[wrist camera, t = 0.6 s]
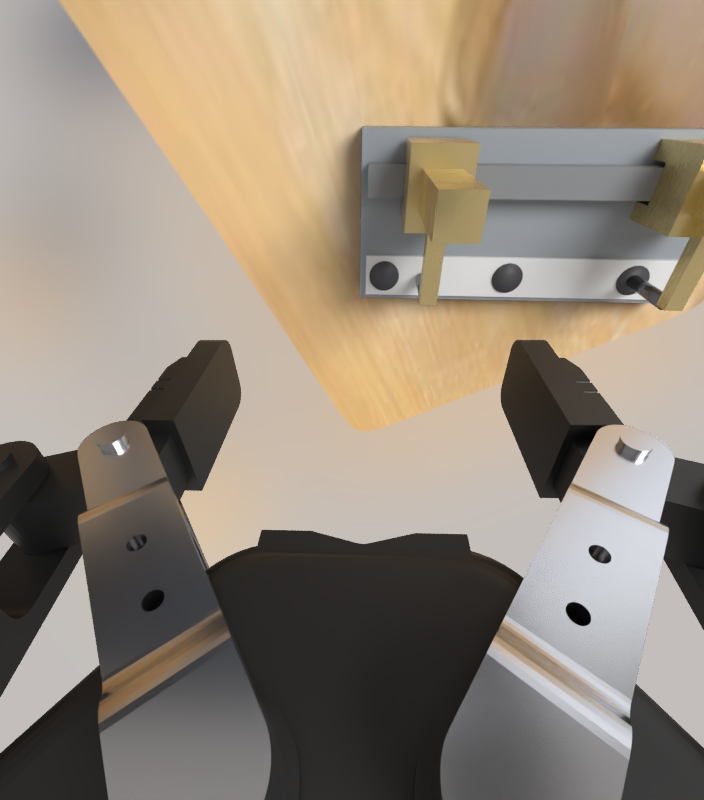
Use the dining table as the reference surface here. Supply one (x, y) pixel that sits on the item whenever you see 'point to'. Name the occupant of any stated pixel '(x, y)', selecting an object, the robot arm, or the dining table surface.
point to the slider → (442, 202)
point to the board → (526, 215)
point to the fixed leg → (676, 220)
